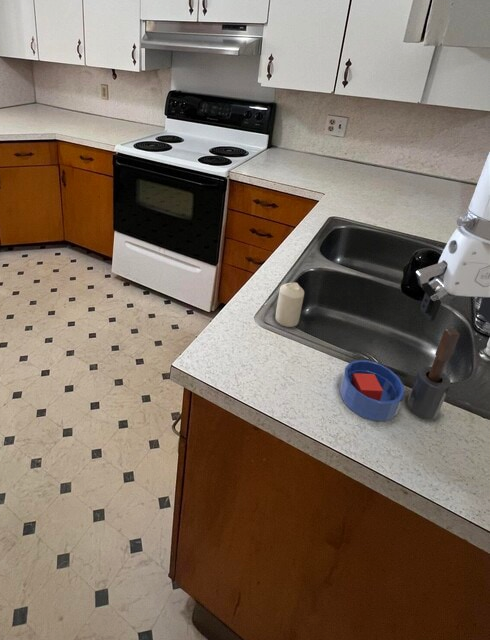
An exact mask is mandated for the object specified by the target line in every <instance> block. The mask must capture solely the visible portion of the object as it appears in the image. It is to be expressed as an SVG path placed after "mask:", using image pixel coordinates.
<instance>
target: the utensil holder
mask: <svg viewBox="0 0 490 640" xmlns="http://www.w3.org/2000/svg"><path fill="white" fill-rule="evenodd" d="M431 367H432V366H421V367H420V368H418V370H417V373H416V376H415V379H414V381H413V384H412V387H411V389H410V391H409V395H408V398H407V402H406V404H407V407H408V409H409V410H410V411H411V412H412V414H414V415H415V416H417V417H419V418H422V419H424V420H435V419H436V418H437V416H438V415H439V412H440V411H441V409H442V406H443V404H444V402H445V399H446V397H447V395H448V392H449V390H450V387H451V379H450V378H449V377H448V376H447V374H446V373H444V372H443V374H442V376H441V378H440V381H439V383H435V382H433V381H431V380H429V379H428V375H429V373H430V370H431Z"/></svg>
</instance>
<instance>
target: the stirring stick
mask: <svg viewBox="0 0 490 640" xmlns="http://www.w3.org/2000/svg"><path fill="white" fill-rule="evenodd" d="M460 335H461V334H460V333H459V332H458V331H457V329H456V328H451V327H450V328H449V327H445V328H444V330H443V333H442V335H441V338H440V340H439V343H438V346H437V349H436V351H435V354H434V355H435V357H434V360H433V362H432V365H431V366H430V367H431V370H430V373H429V375H428V379H429V380H431V381H433V382H435V383H439V381H440V378H441V376H442V374H443V373H444V372H445V369H446V366H447V364H448V362H450V360H451V358H452V355H453V353H454V350H455V348H456V345H457V343H458V341H459V338H460Z"/></svg>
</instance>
